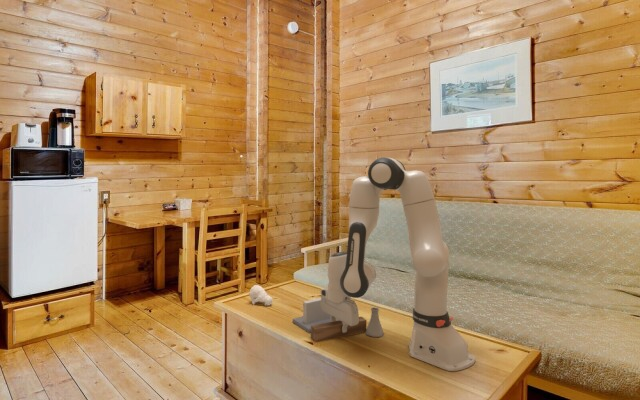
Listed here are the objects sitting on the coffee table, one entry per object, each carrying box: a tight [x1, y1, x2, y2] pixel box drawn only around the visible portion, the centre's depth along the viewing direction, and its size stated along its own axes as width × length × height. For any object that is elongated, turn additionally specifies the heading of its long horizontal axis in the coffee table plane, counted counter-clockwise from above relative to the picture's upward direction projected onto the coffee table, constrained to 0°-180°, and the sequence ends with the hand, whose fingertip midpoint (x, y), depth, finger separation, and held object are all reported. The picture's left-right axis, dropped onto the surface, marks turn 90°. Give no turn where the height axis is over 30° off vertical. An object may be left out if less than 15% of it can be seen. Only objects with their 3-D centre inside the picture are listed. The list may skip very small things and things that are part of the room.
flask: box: [365, 306, 385, 338], centre depth 149 cm, size 7×7×10 cm
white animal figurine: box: [248, 284, 274, 306], centre depth 183 cm, size 6×8×12 cm
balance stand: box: [292, 297, 339, 334], centre depth 160 cm, size 13×18×10 cm
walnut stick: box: [310, 316, 367, 343], centre depth 149 cm, size 4×22×5 cm, turn 114°
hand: (339, 329), depth 149 cm, fingers closed on walnut stick, 4 cm apart
